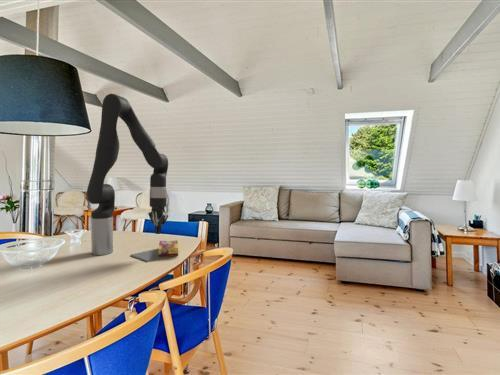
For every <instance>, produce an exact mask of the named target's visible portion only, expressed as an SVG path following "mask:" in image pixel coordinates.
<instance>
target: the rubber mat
mask: <svg viewBox="0 0 500 375" xmlns="http://www.w3.org/2000/svg"><path fill="white" fill-rule="evenodd" d="M158 251H159V247H157V248H154V249H150V250H145V251H141V252H137V253H132V254H130V257H133V258H135V259H138V260H140V261H144V262H146V263H149V262H153V261H156V260H160V259H164V258H168V257H170V256H166V257H158Z"/></svg>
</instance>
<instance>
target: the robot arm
mask: <svg viewBox="0 0 500 375" xmlns="http://www.w3.org/2000/svg"><path fill="white" fill-rule="evenodd" d="M100 117H101V120H100V128H99V134H98V139H97V146H96V148H95V149H96V151H95V157H94V161H93V162H94V163H93V167H92V172H91V175H90V178H89V181H88V185H87V189H86V199H87V201H88V202H89V203H90V204H92V205H98V207H97V208H96V209H94V210H92V211H91V214H90V224H91V225H90V226H91V228H90V229H91V230H90V232H91V237H90V238H91V241H90V242H91V254H92V255H94V256H104V255H109V254H111V253H113V252H114V231H113V230H114V226H113V225H114V222H113V219H114V217H113V214H114V212H115V203H116V193H115V189H114V187H113V185H111V184H109V183H105V179H106V177H107V174H108V173H109V171H110V170H111V169H112V168H113V167H114V165H115V163H116V162H117V160H118V157H119V151H120V140H119V134H118V131H117V127H118V126H117V125H118V120H119V119H121V120H122V122H124V123H125V125H126V126H127V128H128V131H129V134H130V135H131V136H130V137H131V138H132V140H133V142H134V143H135V144H136V146H137V147H138V149H139V150H140V151H141V153H142V156H143V157H144V159H145V161H146V163H147V164H148V166H150V167H151V168H153V171H152V172H153V173H152V174H151V175H150V176H149V181H150V182H149V207H150V208H151V210H150V212H148V213H147V214H148V216H149V219H150V222H151V224H152V225H154V234H156V235H160V234H162V226H163V225H165V223H166V222H167V220H168V218H169V215H168V214H167V213H166V209H165V208H166V207H167V202H168V200H167V195H168V194H167V193H168V192H167V173H168V168H169V159H168V157H167V156H166V154H164V153H160V152H159V151H158V149H157V148H156V143H155V142H154V140H153V138H151V136H150V135H149V134H148V132H147V131H146V129H145V127H143V125H142V124H141V122H140V120H139V119H138V117H137V115H136V113H135V111H134V108H133V106H132V105H131V104H130V101H129V100H128V99H127V98H125V97H123V96H120V95H117V94H115V93H109V94H106V95H105V96H104V98H103V100H102V106H101V116H100Z"/></svg>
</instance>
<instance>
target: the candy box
mask: <svg viewBox="0 0 500 375" xmlns="http://www.w3.org/2000/svg"><path fill="white" fill-rule="evenodd" d="M178 242H179V241H178V239H177V240H159V245H158V248H159V251H158V257H165V258H167V257H166V256H169V257H178V256H179V243H178Z"/></svg>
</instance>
